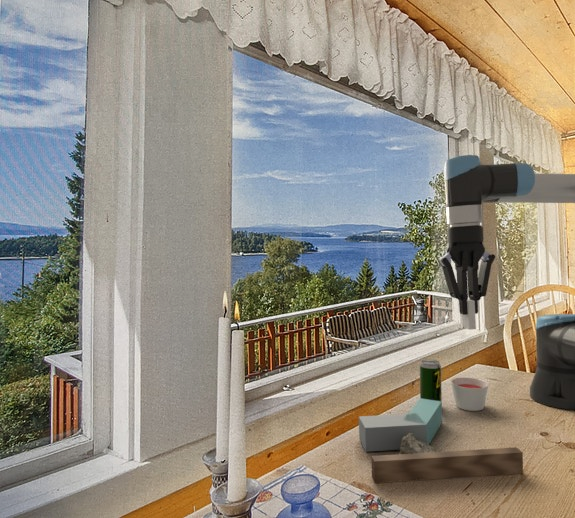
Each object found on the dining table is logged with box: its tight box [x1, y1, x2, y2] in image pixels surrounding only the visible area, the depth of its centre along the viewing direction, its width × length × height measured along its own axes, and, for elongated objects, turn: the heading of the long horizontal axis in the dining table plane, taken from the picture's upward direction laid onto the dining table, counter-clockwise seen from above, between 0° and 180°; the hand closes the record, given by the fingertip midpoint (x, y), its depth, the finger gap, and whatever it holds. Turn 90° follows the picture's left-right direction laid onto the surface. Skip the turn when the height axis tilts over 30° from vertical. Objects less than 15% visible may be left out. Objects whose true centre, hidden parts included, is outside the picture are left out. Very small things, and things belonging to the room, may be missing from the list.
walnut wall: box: [371, 446, 524, 484], centre depth 80 cm, size 28×2×4 cm, turn 93°
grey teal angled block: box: [358, 397, 443, 452], centre depth 97 cm, size 21×15×5 cm
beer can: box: [419, 358, 443, 403], centre depth 113 cm, size 5×5×12 cm
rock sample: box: [398, 433, 438, 454], centre depth 85 cm, size 10×8×9 cm
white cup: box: [450, 376, 489, 412], centre depth 113 cm, size 9×9×6 cm
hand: (469, 328), depth 98 cm, fingers closed
